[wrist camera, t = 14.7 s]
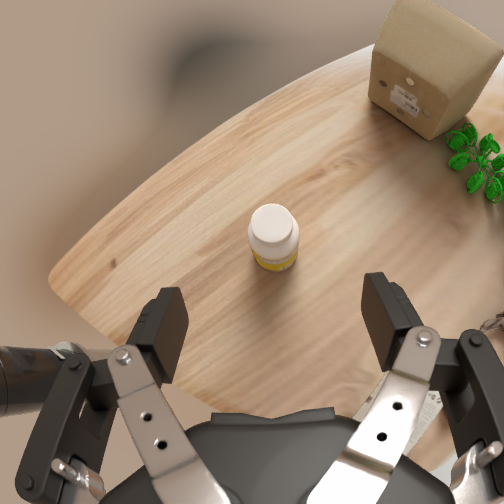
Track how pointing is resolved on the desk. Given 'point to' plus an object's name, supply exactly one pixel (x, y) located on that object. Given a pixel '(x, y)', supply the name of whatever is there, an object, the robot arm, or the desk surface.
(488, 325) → the bird model
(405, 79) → the flower pot
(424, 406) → the cosmetic box
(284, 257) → the supplement bottle
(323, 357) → the desk surface
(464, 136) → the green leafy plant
